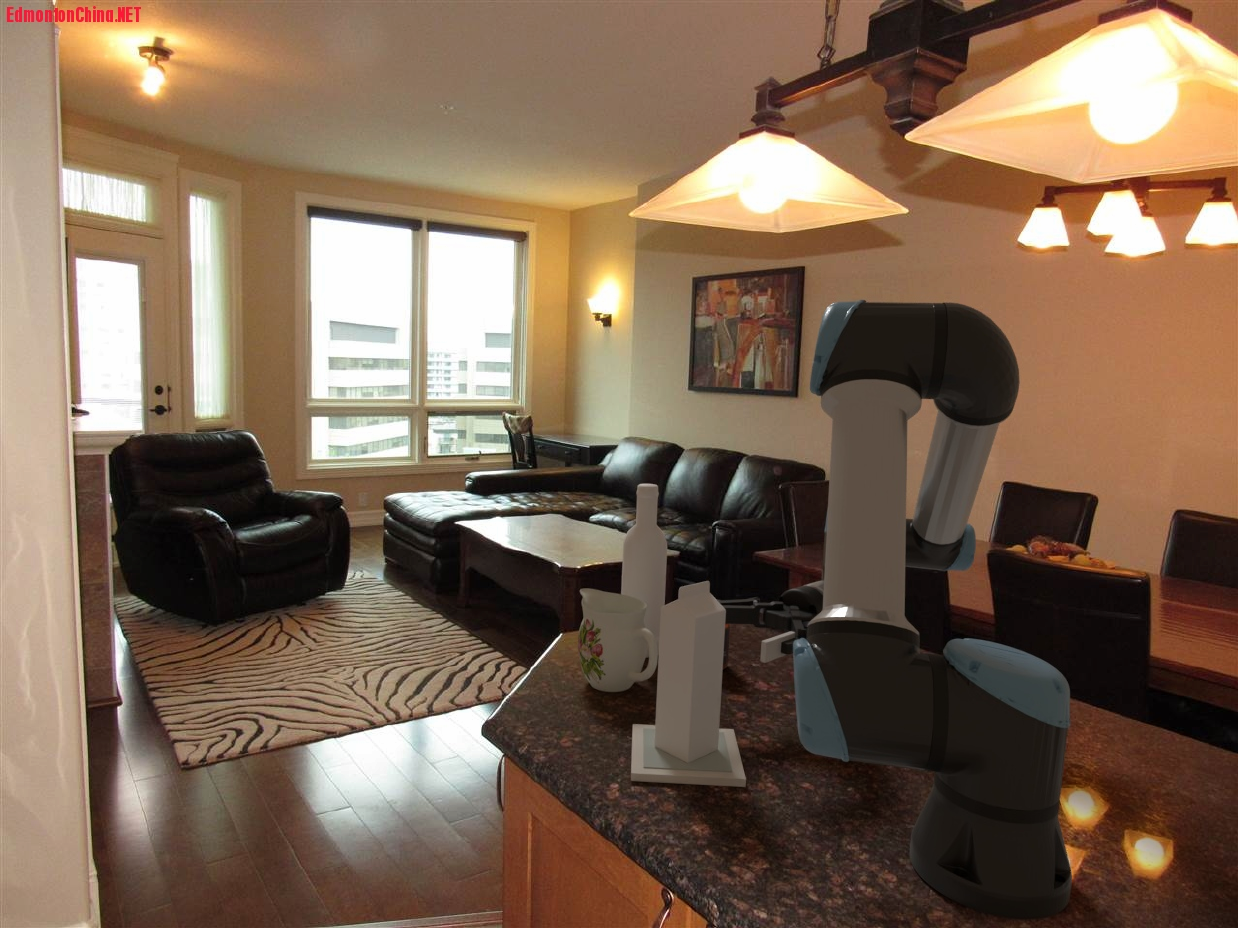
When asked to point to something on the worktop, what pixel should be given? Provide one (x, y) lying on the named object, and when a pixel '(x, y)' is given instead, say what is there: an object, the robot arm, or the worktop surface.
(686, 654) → the milk
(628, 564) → the bottle
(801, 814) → the worktop surface
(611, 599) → the pitcher
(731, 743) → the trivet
